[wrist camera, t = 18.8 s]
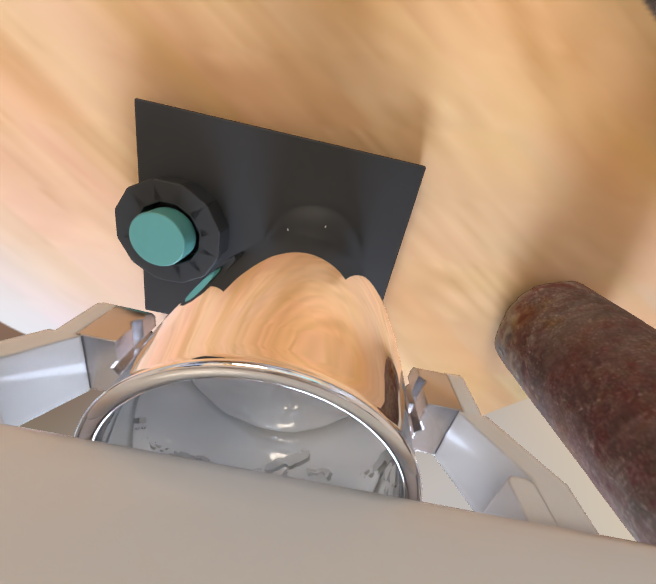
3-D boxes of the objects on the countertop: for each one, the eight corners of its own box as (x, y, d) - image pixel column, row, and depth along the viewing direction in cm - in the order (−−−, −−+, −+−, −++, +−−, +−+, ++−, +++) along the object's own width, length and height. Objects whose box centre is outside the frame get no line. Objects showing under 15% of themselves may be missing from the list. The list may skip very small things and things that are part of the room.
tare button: (197, 213, 17) (184, 218, 16) (196, 262, 19) (184, 271, 17) (143, 201, 17) (126, 206, 16) (146, 251, 18) (130, 260, 17)
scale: (420, 165, 18) (434, 168, 16) (364, 342, 24) (367, 368, 21) (140, 99, 17) (103, 90, 15) (149, 299, 23) (123, 320, 20)
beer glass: (384, 279, 20) (477, 562, 6) (290, 316, 21) (201, 610, 8) (341, 175, 17) (342, 278, 4) (237, 225, 19) (-33, 430, 5)
